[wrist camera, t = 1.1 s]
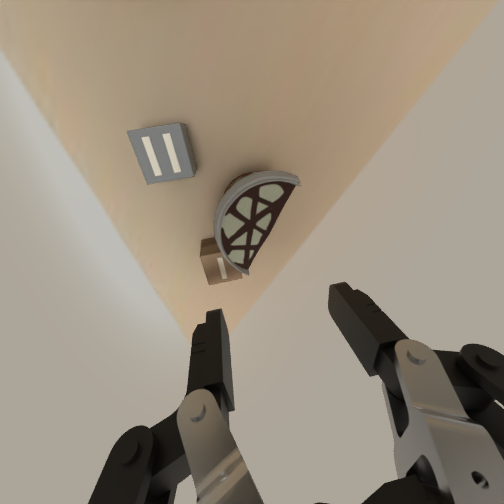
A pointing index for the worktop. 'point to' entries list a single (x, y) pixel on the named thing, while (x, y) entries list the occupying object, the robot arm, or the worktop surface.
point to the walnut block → (216, 264)
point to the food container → (250, 214)
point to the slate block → (163, 152)
